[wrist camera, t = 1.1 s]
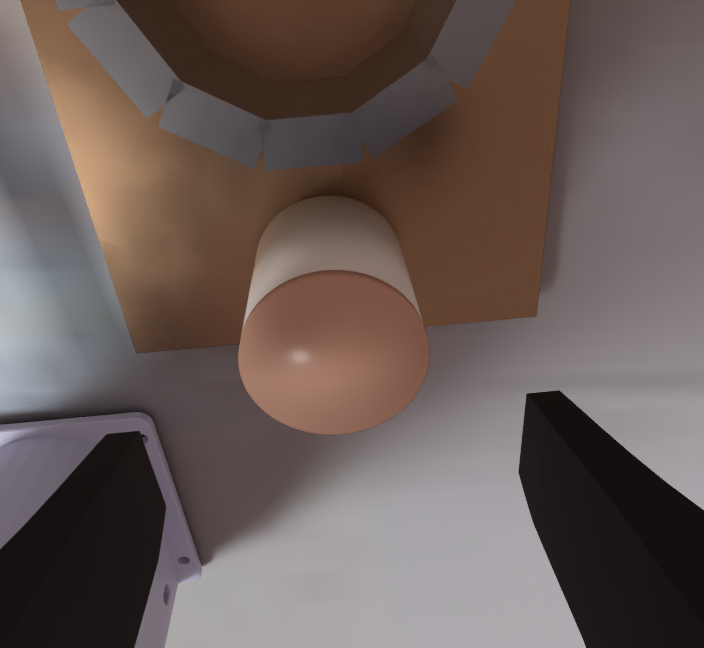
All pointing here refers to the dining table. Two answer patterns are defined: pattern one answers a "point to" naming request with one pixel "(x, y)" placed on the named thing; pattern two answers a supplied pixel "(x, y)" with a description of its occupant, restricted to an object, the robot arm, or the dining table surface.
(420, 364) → the cylindrical peg
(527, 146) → the peg hole base
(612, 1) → the dining table surface
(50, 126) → the dining table surface
